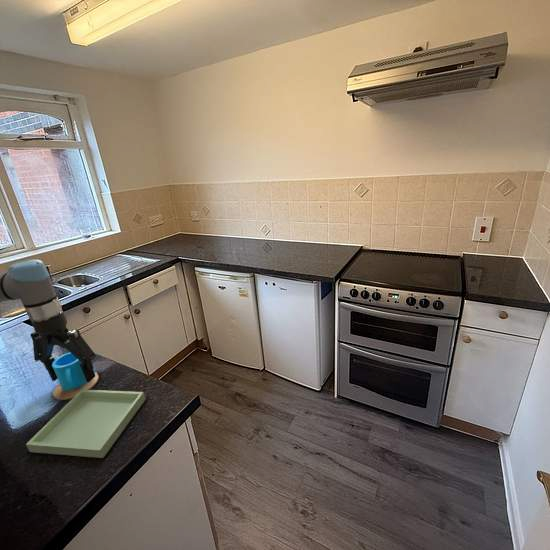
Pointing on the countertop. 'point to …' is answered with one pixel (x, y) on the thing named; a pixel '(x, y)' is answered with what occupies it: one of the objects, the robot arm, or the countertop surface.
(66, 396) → the coaster
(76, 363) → the mug
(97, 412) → the tray
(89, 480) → the countertop surface
